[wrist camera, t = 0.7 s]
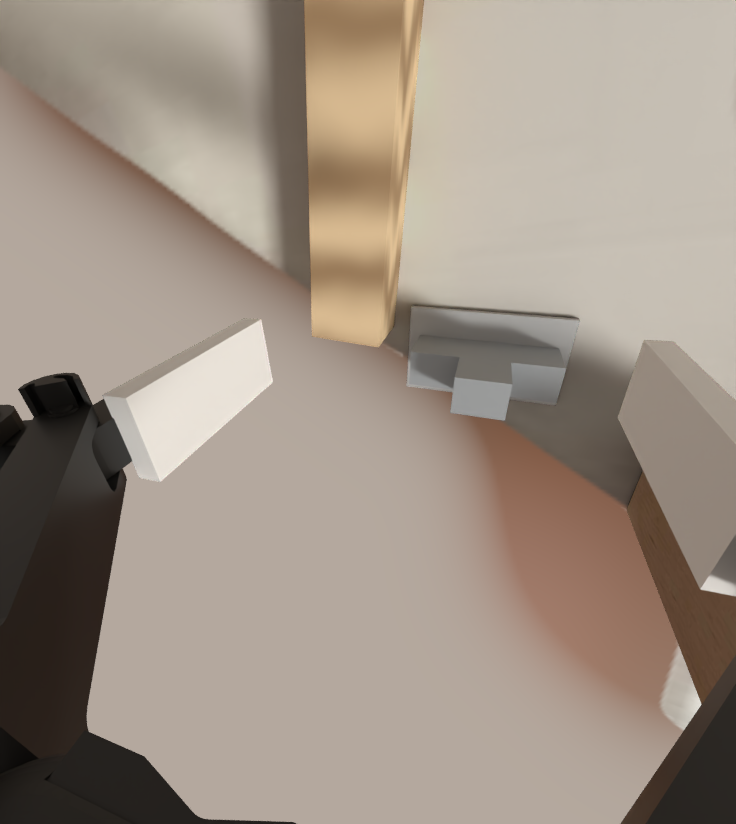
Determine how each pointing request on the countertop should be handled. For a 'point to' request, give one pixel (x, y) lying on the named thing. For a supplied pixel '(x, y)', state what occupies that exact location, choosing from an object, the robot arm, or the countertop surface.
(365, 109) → the beam
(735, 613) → the wooden block
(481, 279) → the countertop surface
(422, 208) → the countertop surface
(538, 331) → the bracket
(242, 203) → the countertop surface
